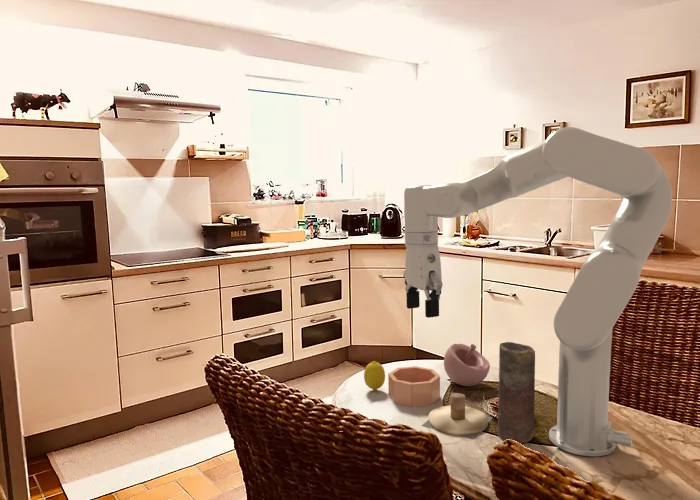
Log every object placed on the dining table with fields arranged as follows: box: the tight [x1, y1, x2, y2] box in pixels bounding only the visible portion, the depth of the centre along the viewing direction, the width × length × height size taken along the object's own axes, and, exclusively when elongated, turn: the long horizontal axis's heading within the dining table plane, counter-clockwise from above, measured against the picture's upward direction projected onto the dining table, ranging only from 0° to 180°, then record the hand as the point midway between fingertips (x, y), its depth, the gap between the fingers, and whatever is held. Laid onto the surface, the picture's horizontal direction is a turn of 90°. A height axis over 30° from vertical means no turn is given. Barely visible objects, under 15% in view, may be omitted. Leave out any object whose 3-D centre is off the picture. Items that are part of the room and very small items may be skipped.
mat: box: [421, 415, 494, 440], centre depth 119 cm, size 12×12×1 cm
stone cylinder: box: [497, 341, 536, 444], centre depth 111 cm, size 8×7×20 cm
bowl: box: [387, 365, 441, 408], centre depth 134 cm, size 12×12×6 cm
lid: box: [428, 392, 489, 436], centre depth 119 cm, size 13×13×6 cm
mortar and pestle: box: [443, 343, 491, 387], centre depth 142 cm, size 12×12×11 cm
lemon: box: [363, 360, 386, 392], centre depth 139 cm, size 6×6×8 cm
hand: (422, 312), depth 124 cm, fingers open, 9 cm apart
